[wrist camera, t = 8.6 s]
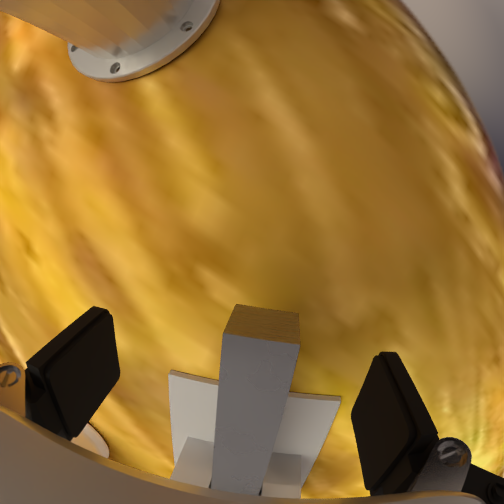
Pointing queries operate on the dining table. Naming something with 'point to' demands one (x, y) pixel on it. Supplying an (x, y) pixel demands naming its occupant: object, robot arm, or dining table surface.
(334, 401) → the bearing block
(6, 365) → the robot arm
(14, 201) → the dining table surface
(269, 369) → the shaft
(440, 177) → the dining table surface
